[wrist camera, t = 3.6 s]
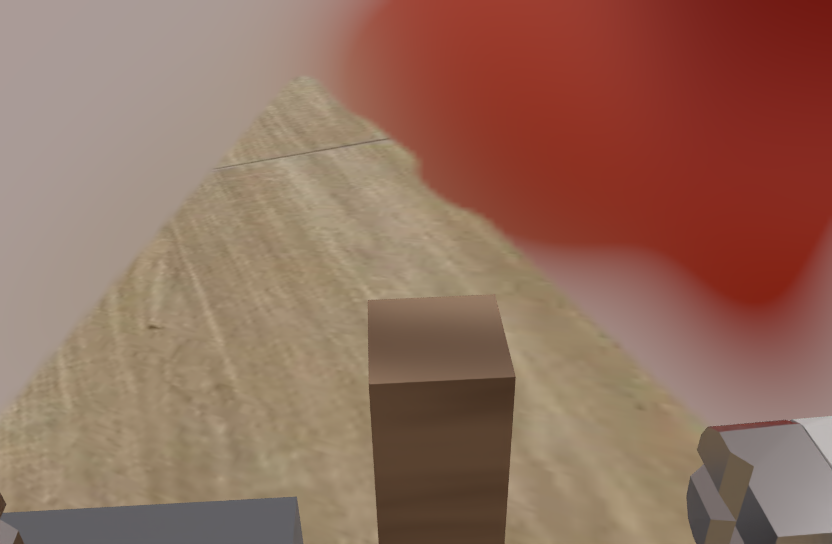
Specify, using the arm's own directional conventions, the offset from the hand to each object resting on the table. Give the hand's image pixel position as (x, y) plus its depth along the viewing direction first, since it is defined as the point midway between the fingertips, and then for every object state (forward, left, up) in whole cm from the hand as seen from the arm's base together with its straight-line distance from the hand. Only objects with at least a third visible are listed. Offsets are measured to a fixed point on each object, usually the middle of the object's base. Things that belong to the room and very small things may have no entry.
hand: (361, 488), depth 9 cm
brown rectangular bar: (+12, -2, -23) cm, 26 cm away
